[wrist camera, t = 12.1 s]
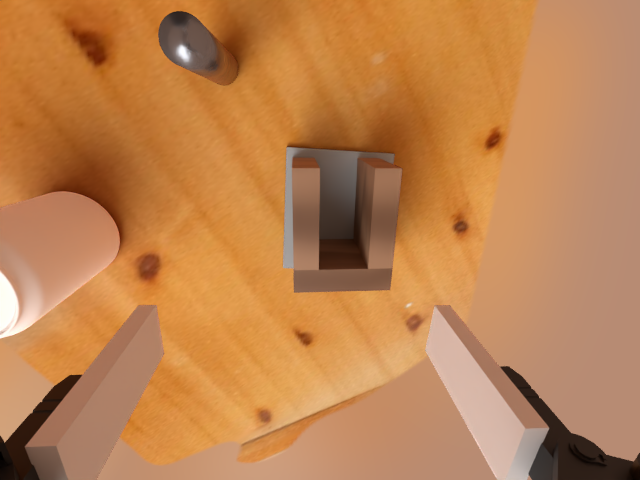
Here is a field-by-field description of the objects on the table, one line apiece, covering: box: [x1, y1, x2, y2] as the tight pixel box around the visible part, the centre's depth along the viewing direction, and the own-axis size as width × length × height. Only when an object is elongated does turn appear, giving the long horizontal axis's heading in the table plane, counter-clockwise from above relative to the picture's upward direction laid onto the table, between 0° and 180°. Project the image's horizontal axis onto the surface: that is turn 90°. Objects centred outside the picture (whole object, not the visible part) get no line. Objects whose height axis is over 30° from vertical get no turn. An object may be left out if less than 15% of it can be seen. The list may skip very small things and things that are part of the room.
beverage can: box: [0, 191, 120, 338], centre depth 25 cm, size 8×8×12 cm
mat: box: [283, 147, 395, 268], centre depth 32 cm, size 12×10×1 cm
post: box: [158, 11, 238, 85], centre depth 22 cm, size 3×3×10 cm
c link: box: [292, 157, 402, 292], centre depth 28 cm, size 10×8×7 cm
